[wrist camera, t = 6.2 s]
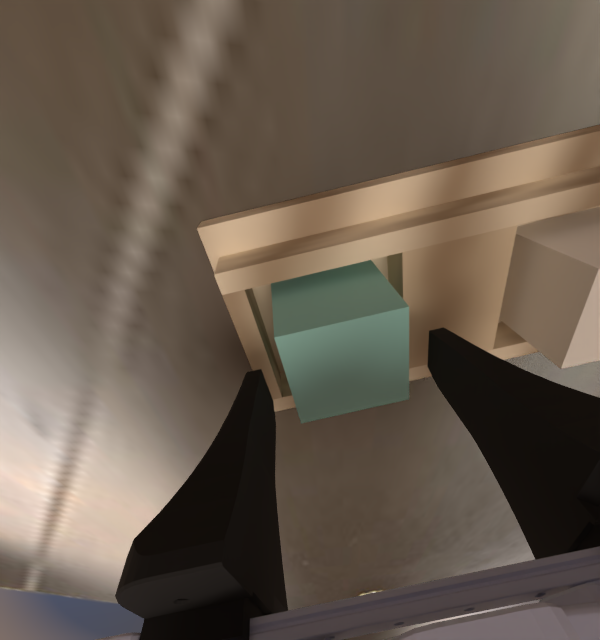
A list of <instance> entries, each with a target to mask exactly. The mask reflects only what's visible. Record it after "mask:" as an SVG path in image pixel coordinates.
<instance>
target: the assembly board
mask: <svg viewBox="0 0 600 640" xmlns="http://www.w3.org/2000/svg"><path fill="white" fill-rule="evenodd" d="M596 207H600V125H596V126H592V127H588V128H584V129H580V130H576V131H572V132H567V133H563V134H559V135H555V136H551V137H547V138H543V139H539V140H534V141H530V142H526V143H522V144H518V145H514V146H510V147H506V148H502V149H497V150H493V151H489V152H485V153H481V154H477V155H473V156H469V157H465V158H460V159H456V160H452V161H448V162H444V163H440V164H436V165H432V166H427V167H423V168H419V169H415V170H411V171H407V172H403V173H399V174H395V175H390V176H386V177H382V178H378V179H374V180H370V181H366V182H362V183H358V184H353V185H349V186H345V187H341V188H337V189H333V190H329V191H325V192H320V193H316V194H312V195H308V196H304V197H300V198H296V199H292V200H288V201H283V202H279V203H275V204H271V205H267V206H263V207H259V208H255V209H251V210H246V211H242V212H238V213H234V214H230V215H226V216H222V217H218V218H213V219H209V220H205V221H201V223H200V224H199V226H198V228H197V230H198V232H199V235H200V237H201V240H202V243H203V245H204V248H205V250H206V253H207V255H208V258H209V260H210V263H211V265H212V268H213V270H214V276H215V278H216V281H217V283H218V286H219V288H220V291H221V293H222V296H223V298H224V301H225V303H226V306H227V308H228V311H229V313H230V316H231V318H232V321H233V323H234V326H235V328H236V331H237V333H238V336H239V338H240V341H241V343H242V346H243V348H244V351H245V353H246V356H247V358H248V361H249V363H250V366H251V368H252V371H254V370H259V369H261V370H262V372H263V375H264V378H265V380H266V383H267V386H268V388H269V391H270V394H271V396H272V399H273V402H274V411H275V412H276V411H280V410H285V409H289V408H294V407H296V405H295V402H294V399H293V396H292V393H291V390H290V386H289V383H288V380H287V377H286V374H285V371H284V367H283V364H282V361H281V358H280V355H279V352H278V348H277V345H276V342H275V339H274V327H273V310H272V294H271V283H275V282H279V281H284V280H288V279H292V278H296V277H301V276H305V275H309V274H313V273H317V272H322V271H326V270H330V269H334V268H339V267H343V266H347V265H351V264H355V263H360V262H364V261H368V260H371V261H372V262H373V263H374V264H375V266H376V267H377V268H378V269H379V270H380V272H381V273H382V274H383V275H384V277H385V278H386V279H387V280H388V281H389V283H390V284H391V285H392V286H393V288H394V289H395V290H396V291H397V292H398V294H399V295H400V296H401V297H402V299H403V300H404V301H405V302H406V303H407V305H408V306H409V381H412V380H417V379H421V378H426V377H430V376H432V375H431V373H430V371H429V369H428V367H427V365H428V341H429V331H430V330H434V329H439V328H443V327H444V328H446V329H447V330H449V331H451V332H453V333H455V334H456V335H458V336H460V337H462V338H463V339H465V340H467V341H469V342H470V343H472V344H474V345H476V346H478V347H479V348H481V349H483V350H485V351H487V352H489V353H490V354H492V355H494V356H496V357H498V358H500V359H502V360H505V359H509V358H514V357H518V356H522V355H527V354H531V353H535V352H539V351H538V350H537V349H536V348H534V347H533V346H532V345H531V344H529V343H528V342H527V341H526V340H525V339H523V338H522V337H521V336H520V335H518V334H517V333H516V332H515V331H513V330H512V329H511V328H510V327H508V326H507V325H506V324H505V323H504V322H502V321H501V320H500V319H499V316H500V311H501V306H502V301H503V296H504V291H505V286H506V281H507V276H508V271H509V266H510V261H511V256H512V251H513V246H514V240H515V235H516V230H517V226H520V225H524V224H528V223H533V222H537V221H541V220H545V219H550V218H554V217H558V216H562V215H566V214H571V213H575V212H579V211H583V210H588V209H592V208H596Z"/></svg>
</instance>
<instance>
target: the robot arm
mask: <svg viewBox="0 0 600 640" xmlns="http://www.w3.org/2000/svg"><path fill="white" fill-rule="evenodd" d="M427 367H428V369H429V371H430V373H431V375H432V377H433V379H434V380H435V382H436V384H437V386H438V388H439V389H440V391H441V392H442V394H443V395H444V397H445V398H446V399H447V401H448V402H449V404H450V405H451V407H452V408H453V409H454V411H455V412H456V414H457V415H458V417H459V418H460V419H461V421H462V422H463V424H464V425H465V427H466V428H467V429H468V431H469V432H470V434H471V435H472V437H473V438H474V440H475V442H476V443H477V445H478V447H479V449H480V450H481V452H482V454H483V456H484V457H485V459H486V461H487V463H488V465H489V466H490V468H491V470H492V472H493V474H494V476H495V478H496V479H497V481H498V483H499V485H500V487H501V489H502V491H503V493H504V495H505V497H506V499H507V501H508V503H509V505H510V507H511V509H512V511H513V513H514V515H515V517H516V519H517V521H518V523H519V525H520V527H521V529H522V531H523V533H524V535H525V538H526V540H527V542H528V544H529V546H530V548H531V550H532V553H533V555H534V557H535V559H536V560H531V561H526V562H521V563H517V564H512V565H507V566H502V567H497V568H492V569H488V570H483V571H478V572H473V573H468V574H463V575H459V576H454V577H449V578H444V579H439V580H434V581H429V582H425V583H420V584H415V585H410V586H405V587H400V588H396V589H391V590H386V591H381V592H376V593H371V594H366V595H362V596H357V597H352V598H347V599H342V600H337V601H333V602H328V603H323V604H318V605H313V606H308V607H304V608H299V609H294V610H289V611H288V607H287V599H286V590H285V582H284V574H283V565H282V555H281V546H280V536H279V525H278V514H277V502H276V489H275V444H276V421H275V411H274V402H273V399H272V396H271V394H270V391H269V388H268V386H267V383H266V380H265V378H264V375H263V372H262V370H261V369H259V370H254V371H250V372H247V373H246V375H245V377H244V380H243V382H242V385H241V387H240V390H239V392H238V394H237V397H236V399H235V401H234V403H233V405H232V407H231V410H230V412H229V414H228V416H227V418H226V420H225V421H224V423H223V425H222V427H221V429H220V431H219V433H218V434H217V436H216V438H215V439H214V441H213V443H212V444H211V446H210V448H209V449H208V451H207V452H206V454H205V455H204V457H203V458H202V460H201V461H200V463H199V464H198V465H197V467H196V468H195V470H194V471H193V472H192V474H191V475H190V476H189V478H188V479H187V480H186V482H185V483H184V484H183V485H182V487H181V488H180V489H179V490H178V492H177V493H176V494H175V495H174V496H173V498H172V499H171V500H170V501H169V502H168V504H167V505H166V506H165V507H164V508H163V509H162V510H161V512H160V513H159V514H158V515H157V516H156V517H155V518H154V519H153V520H152V521H151V522H150V523H149V524H148V525H147V526H146V527H145V528H144V529H143V531H142V532H141V533H140V534H139V535H138V536H137V537H136V538H135V539H134V541H133V543H132V546H131V548H130V551H129V553H128V556H127V559H126V563H125V566H124V569H123V572H122V576H121V579H120V582H119V585H118V588H117V592H116V595H115V597H116V599H117V601H118V603H119V604H120V605H121V606H122V607H124V608H126V609H127V610H129V611H131V612H133V613H135V614H137V615H138V616H140V617H142V618H144V623H143V627H142V632H141V633H126V634H121V635H116V636H111V637H106V638H101V639H97V640H341V639H346V638H351V637H356V636H361V635H366V634H371V633H376V632H381V631H386V630H390V629H395V628H400V627H405V626H410V625H415V624H420V623H425V622H430V621H435V620H440V619H445V618H450V617H455V616H459V615H464V614H469V613H474V612H479V611H484V610H489V609H494V608H499V607H504V606H509V605H514V604H519V603H523V602H528V601H533V600H538V599H541V600H540V603H534V604H526V605H521V606H516V607H511V608H506V609H501V610H496V611H492V612H487V613H482V614H477V615H472V616H467V617H462V618H457V619H452V620H447V621H442V622H437V623H433V624H429V625H425V626H421V627H418V628H414V629H412V630H410V631H407V632H405V633H403V634H401V635H399V636H395V637H392V638H388V639H385V640H600V398H599V397H595V396H592V395H589V394H586V393H583V392H580V391H577V390H574V389H571V388H568V387H565V386H563V385H560V384H557V383H555V382H552V381H549V380H547V379H545V378H542V377H540V376H537V375H535V374H532V373H530V372H528V371H525V370H523V369H521V368H519V367H517V366H515V365H512V364H510V363H508V362H506V361H504V360H502V359H500V358H498V357H496V356H494V355H492V354H490V353H489V352H487V351H485V350H483V349H481V348H479V347H478V346H476V345H474V344H472V343H470V342H469V341H467V340H465V339H463V338H462V337H460V336H458V335H456V334H455V333H453V332H451V331H449V330H447V329H446V328H444V327H443V328H439V329H434V330H430V331H429V341H428V365H427Z"/></svg>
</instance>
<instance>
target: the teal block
mask: <svg viewBox="0 0 600 640" xmlns="http://www.w3.org/2000/svg"><path fill="white" fill-rule="evenodd" d="M271 294H272V310H273V327H274V339H275V342H276V345H277V348H278V352H279V355H280V358H281V361H282V364H283V367H284V371H285V374H286V377H287V380H288V383H289V386H290V390H291V393H292V396H293V399H294V402H295V405H296V408H297V412H298V415H299V418H300V421H301V423H305V422H310V421H314V420H319V419H323V418H328V417H332V416H337V415H341V414H346V413H350V412H355V411H359V410H363V409H368V408H372V407H377V406H381V405H386V404H390V403H395V402H399V401H404V400H408V399H409V306H408V305H407V303H406V302H405V301H404V300H403V299H402V297H401V296H400V295H399V294H398V292H397V291H396V290H395V289H394V288H393V286H392V285H391V284H390V283H389V281H388V280H387V279H386V278H385V277H384V275H383V274H382V273H381V272H380V270H379V269H378V268H377V267H376V266H375V264H374V263H373V262H372V261H371V260H368V261H364V262H360V263H355V264H351V265H347V266H343V267H339V268H334V269H330V270H326V271H322V272H317V273H313V274H309V275H305V276H301V277H296V278H292V279H288V280H284V281H279V282H275V283H271Z"/></svg>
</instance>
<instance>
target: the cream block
mask: <svg viewBox="0 0 600 640" xmlns="http://www.w3.org/2000/svg"><path fill="white" fill-rule="evenodd" d="M499 319H500V320H501V321H502V322H504V323H505V324H506V325H507V326H508V327H510V328H511V329H512V330H513V331H515V332H516V333H517V334H518V335H520V336H521V337H522V338H523V339H525V340H526V341H527V342H528V343H529V344H531V345H532V346H533V347H534V348H536V349H537V350H538V351H539V352H541V353H542V354H543V355H544V356H545V357H547V358H548V359H549V360H550V361H552V362H553V363H554V364H555V365H557V366H558V367H559V368H560V369H563V368H568V367H572V366H576V365H581V364H585V363H590V362H594V361H599V360H600V207H596V208H592V209H588V210H583V211H579V212H575V213H571V214H566V215H562V216H558V217H554V218H550V219H545V220H541V221H537V222H533V223H528V224H524V225H520V226H517V230H516V235H515V240H514V246H513V251H512V256H511V261H510V266H509V271H508V276H507V281H506V286H505V291H504V296H503V301H502V306H501V311H500V316H499Z"/></svg>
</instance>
